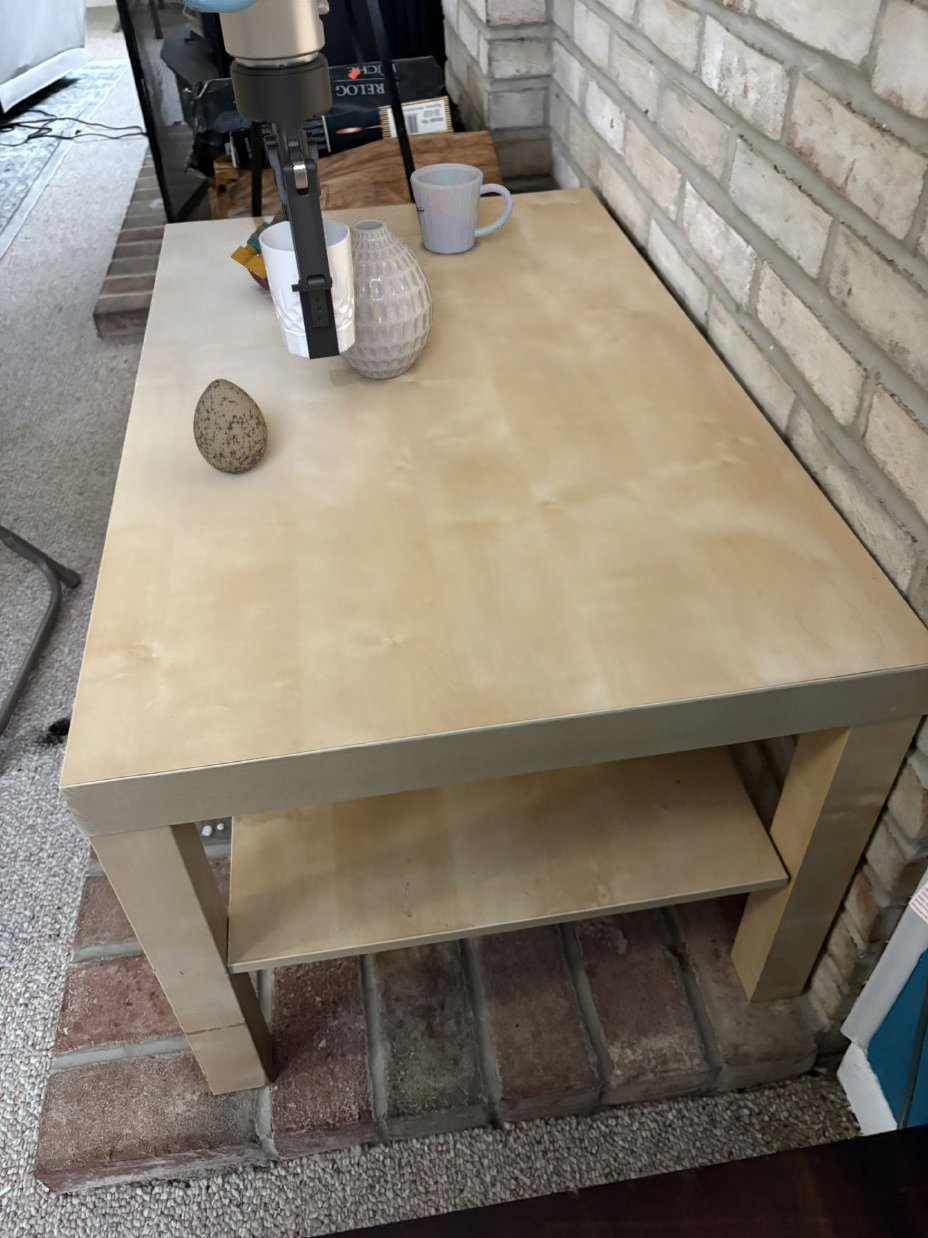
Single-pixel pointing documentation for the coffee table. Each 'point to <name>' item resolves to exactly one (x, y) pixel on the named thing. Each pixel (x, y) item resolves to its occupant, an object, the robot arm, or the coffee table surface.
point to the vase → (387, 302)
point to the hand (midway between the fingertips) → (318, 335)
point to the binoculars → (253, 248)
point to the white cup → (285, 274)
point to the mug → (453, 206)
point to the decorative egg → (229, 428)
